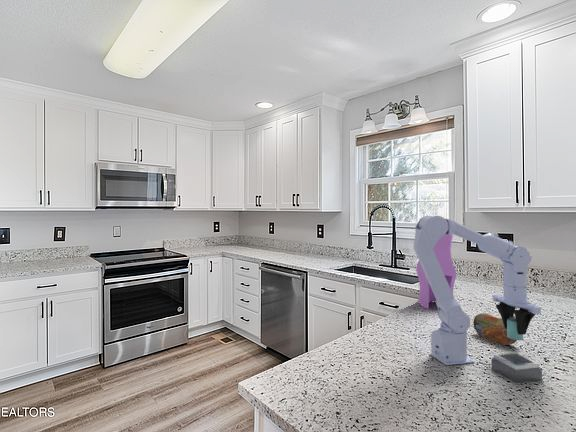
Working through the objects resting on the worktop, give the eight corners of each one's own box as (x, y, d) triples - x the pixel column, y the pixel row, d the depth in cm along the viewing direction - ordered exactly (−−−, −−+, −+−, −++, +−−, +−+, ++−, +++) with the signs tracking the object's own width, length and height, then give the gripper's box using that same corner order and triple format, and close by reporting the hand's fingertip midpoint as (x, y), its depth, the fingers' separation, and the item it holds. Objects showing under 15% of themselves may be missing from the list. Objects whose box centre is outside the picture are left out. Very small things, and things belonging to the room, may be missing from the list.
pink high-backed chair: (444, 301, 164) (444, 232, 163) (456, 309, 150) (455, 233, 150) (416, 301, 165) (416, 232, 165) (425, 308, 151) (424, 233, 151)
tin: (472, 333, 120) (472, 310, 120) (479, 332, 121) (478, 309, 121) (513, 349, 106) (513, 323, 106) (520, 347, 107) (520, 322, 107)
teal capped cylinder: (515, 340, 95) (515, 320, 95) (503, 335, 99) (503, 316, 99) (526, 339, 95) (526, 319, 95) (514, 334, 99) (514, 315, 99)
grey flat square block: (516, 382, 84) (516, 366, 84) (491, 368, 92) (491, 353, 92) (542, 379, 86) (541, 364, 86) (515, 366, 94) (515, 351, 94)
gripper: (549, 290, 91) (550, 339, 91) (505, 280, 105) (505, 322, 105) (528, 291, 89) (528, 341, 89) (486, 281, 104) (486, 324, 104)
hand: (515, 331), depth 97 cm, fingers closed on teal capped cylinder, 4 cm apart
